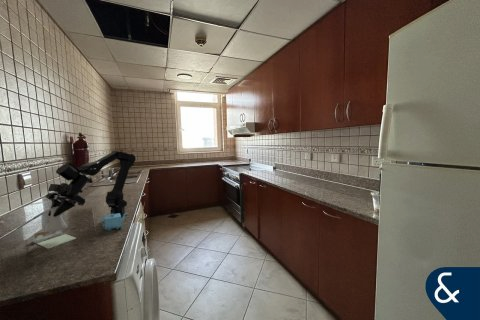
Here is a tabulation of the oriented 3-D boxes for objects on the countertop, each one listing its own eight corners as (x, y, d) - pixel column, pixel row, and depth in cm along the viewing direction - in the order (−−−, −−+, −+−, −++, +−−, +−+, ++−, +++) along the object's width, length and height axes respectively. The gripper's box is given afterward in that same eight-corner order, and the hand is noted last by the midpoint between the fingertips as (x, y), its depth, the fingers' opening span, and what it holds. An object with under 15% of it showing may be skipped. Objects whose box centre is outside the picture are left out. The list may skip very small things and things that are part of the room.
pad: (65, 234, 97) (65, 234, 97) (76, 238, 93) (76, 237, 93) (37, 244, 89) (37, 243, 88) (48, 248, 84) (48, 247, 84)
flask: (62, 231, 88) (60, 209, 87) (41, 234, 86) (39, 211, 85) (70, 225, 95) (68, 204, 94) (51, 227, 93) (49, 206, 92)
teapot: (127, 223, 110) (127, 209, 110) (129, 226, 106) (128, 212, 105) (101, 228, 104) (100, 214, 103) (101, 233, 99) (100, 218, 98)
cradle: (59, 232, 100) (59, 226, 100) (63, 234, 98) (63, 228, 98) (32, 241, 91) (31, 235, 91) (35, 243, 89) (35, 236, 89)
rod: (59, 229, 99) (59, 226, 99) (60, 229, 98) (60, 226, 98) (34, 236, 91) (33, 233, 91) (35, 237, 90) (35, 234, 90)
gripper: (47, 175, 95) (19, 206, 86) (75, 176, 89) (48, 209, 80) (68, 188, 103) (44, 217, 94) (95, 190, 98) (72, 221, 88)
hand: (51, 216), depth 89 cm, fingers closed on flask, 3 cm apart
